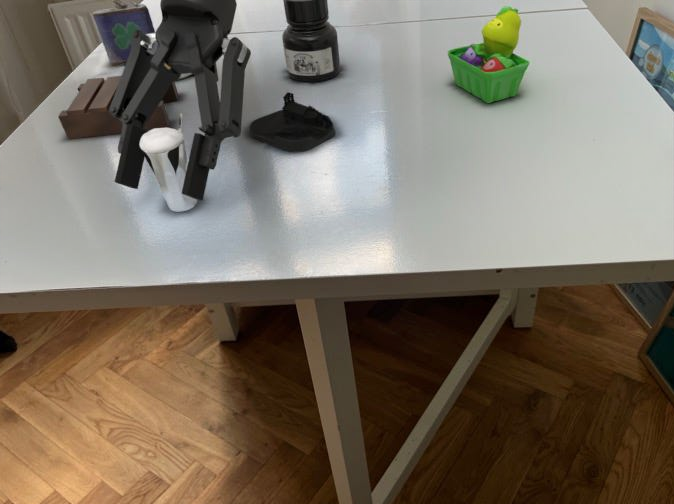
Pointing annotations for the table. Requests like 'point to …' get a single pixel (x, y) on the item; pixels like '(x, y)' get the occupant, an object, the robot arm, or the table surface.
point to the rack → (105, 110)
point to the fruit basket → (491, 60)
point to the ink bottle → (310, 41)
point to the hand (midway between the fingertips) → (158, 191)
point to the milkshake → (168, 164)
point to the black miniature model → (293, 127)
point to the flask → (121, 28)
